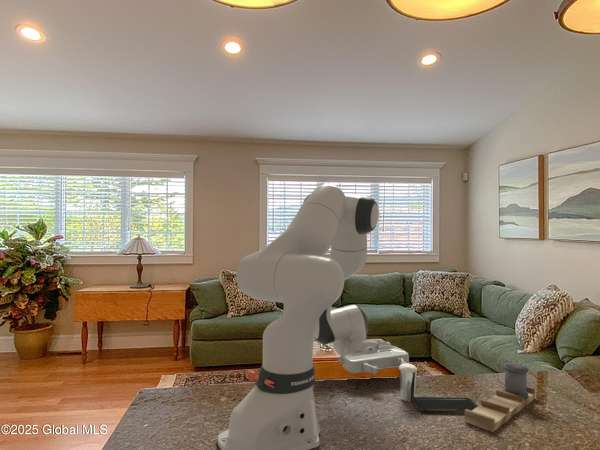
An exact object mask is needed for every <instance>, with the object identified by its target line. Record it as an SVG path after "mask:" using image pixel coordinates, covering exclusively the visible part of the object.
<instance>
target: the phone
mask: <svg viewBox="0 0 600 450" xmlns="http://www.w3.org/2000/svg"><path fill="white" fill-rule="evenodd" d="M412 403H413V405H414V407H415V408H416V411H417V412H418V413H420V414H423V415H424V414H425V415H426V414H427V415H433V414H434V415H465V409H468V410H471V411H472V410H473V409H475V408H476V407H478V406H479V405H477V404H476V403H475V402H474V401H473V399H472V398H468V397H431V396H428V397H427V396H426V397H425V396H415V397H414V399H413V401H412Z"/></svg>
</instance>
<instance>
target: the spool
mask: <svg viewBox="0 0 600 450" xmlns="http://www.w3.org/2000/svg"><path fill="white" fill-rule="evenodd" d="M502 365H503V366H502V368H503V370H504V388H503V389H502V390H503V391H505V392H509V393H512V394H515V395H519V396H522V397H524V398H527V397H528V392H527V391H526V390H527V386H528V385H527V383H528V382H527V376H528V375H527V374H528V372H529V368H528V366H525V365H523V364H519V363H511V362H508V363H507V362H505V363H504V364H502Z"/></svg>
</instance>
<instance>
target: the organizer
mask: <svg viewBox="0 0 600 450" xmlns="http://www.w3.org/2000/svg"><path fill="white" fill-rule="evenodd" d="M526 391H527V392H528V397H527V398H524V397H522V396H519V395H515V394H512V393H509V392H505V391H503V389H498V388H496V389H495V395H493V396H491V397H490V398H488V399H485V398H481V399H480V405H477V406H478V407H476V408H475V409H473V410H472V411H471V410H468V409H465V414H464V423H468V424H469V425H472V426H476V427H477V428H480V429H483V430H486V431H489V432H491V433H493V432H495V431H496V430H498V429H499V428H500V427H502V425H504V424H505V423H507V421H509V420H510V419H511V418H513V417H514V416H515V415H517V414H518V413H519V412H520V411H521V410H522V409H524V408H525V407H527V406H528V405H529V404H530V403H532V402H533V401H534V400H535V399H536V388H535V387H531V386H528V385H527V390H526Z"/></svg>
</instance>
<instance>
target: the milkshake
mask: <svg viewBox="0 0 600 450" xmlns="http://www.w3.org/2000/svg"><path fill="white" fill-rule="evenodd" d="M420 364H421V361H419V362H418V364H417V367H416V366H415V365H414V364H411V363H410V362H409V363H406V364H401V365H400V366H399V367H398V374H399V383H400V385H399V386H400V397H401V400H402V401H403V402H407V403H411V402H412V403H413V399H414V397H416V383H417V381H416V380H417V374H418V373H417V372H418V368H419V366H420Z"/></svg>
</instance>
